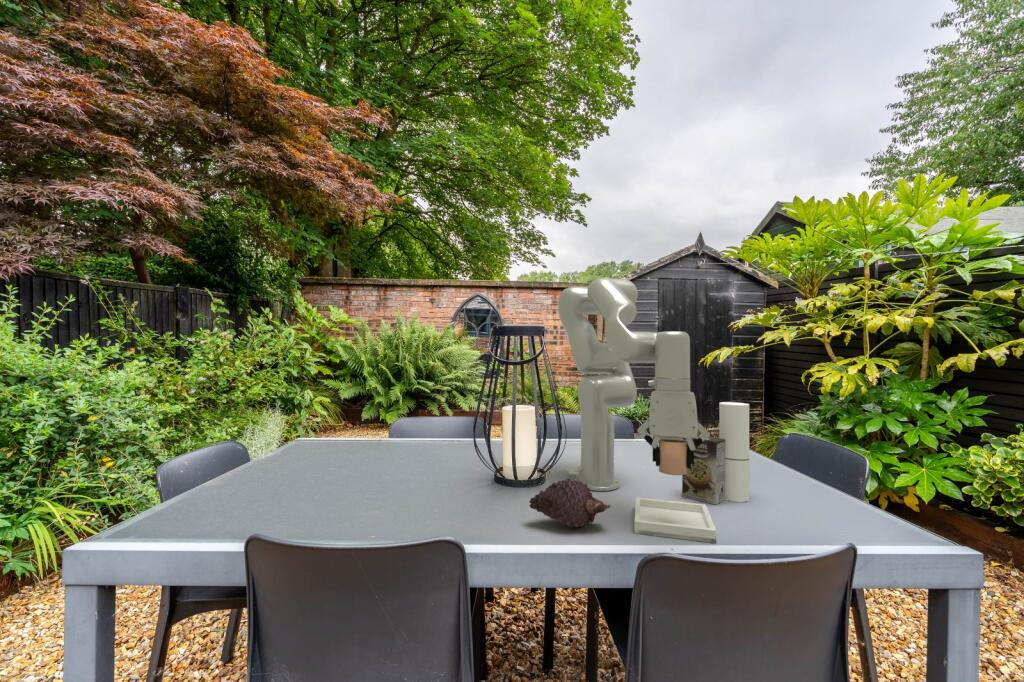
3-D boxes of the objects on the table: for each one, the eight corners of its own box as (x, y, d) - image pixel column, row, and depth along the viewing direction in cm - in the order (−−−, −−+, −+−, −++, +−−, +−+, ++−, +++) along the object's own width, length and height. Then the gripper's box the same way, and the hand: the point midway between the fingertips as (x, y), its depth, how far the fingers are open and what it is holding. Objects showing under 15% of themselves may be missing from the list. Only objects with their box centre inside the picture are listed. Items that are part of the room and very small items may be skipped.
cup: (659, 474, 97) (659, 441, 97) (658, 466, 103) (657, 436, 103) (688, 476, 96) (688, 443, 96) (685, 468, 101) (685, 437, 102)
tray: (634, 533, 94) (634, 521, 94) (635, 507, 109) (635, 497, 109) (716, 543, 89) (716, 530, 89) (705, 515, 105) (705, 504, 105)
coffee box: (681, 496, 118) (681, 436, 118) (691, 491, 122) (691, 433, 123) (716, 505, 111) (716, 441, 112) (725, 499, 116) (725, 438, 116)
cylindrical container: (742, 494, 121) (742, 402, 121) (754, 502, 114) (754, 405, 114) (715, 492, 121) (715, 401, 122) (725, 501, 114) (725, 405, 115)
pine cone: (527, 532, 94) (527, 485, 94) (531, 515, 104) (531, 472, 104) (612, 536, 92) (612, 488, 92) (607, 518, 102) (607, 475, 102)
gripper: (632, 386, 99) (632, 467, 98) (716, 388, 94) (717, 473, 93) (633, 384, 106) (633, 459, 105) (711, 385, 101) (712, 465, 101)
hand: (672, 465), depth 99 cm, fingers closed on cup, 6 cm apart
